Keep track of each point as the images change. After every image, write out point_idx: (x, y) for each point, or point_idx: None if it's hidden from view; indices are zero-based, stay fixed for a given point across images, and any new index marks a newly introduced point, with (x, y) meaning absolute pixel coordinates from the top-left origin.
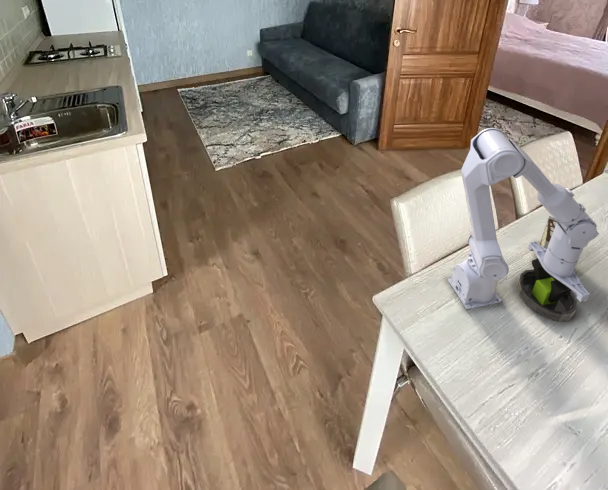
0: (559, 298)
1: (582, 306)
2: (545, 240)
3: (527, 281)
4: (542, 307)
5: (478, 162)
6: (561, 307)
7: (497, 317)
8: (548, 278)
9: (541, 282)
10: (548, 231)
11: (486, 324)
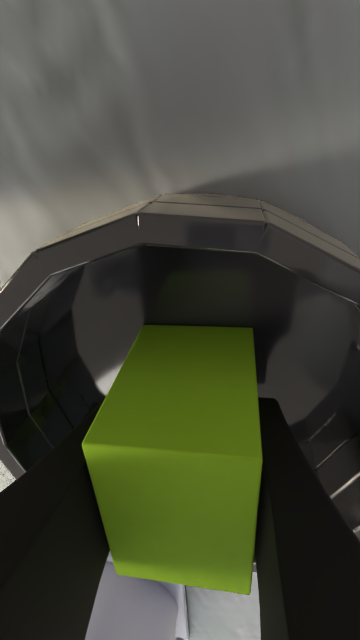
0: (286, 430)
1: (348, 94)
2: None
3: (69, 395)
4: None
5: None
6: (297, 336)
7: (239, 597)
8: (97, 488)
9: (141, 563)
10: None
11: (253, 631)
